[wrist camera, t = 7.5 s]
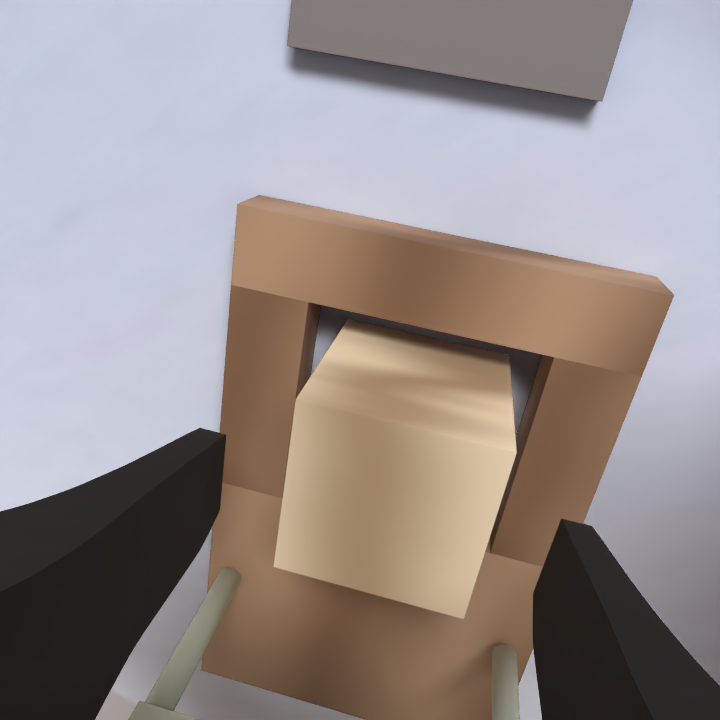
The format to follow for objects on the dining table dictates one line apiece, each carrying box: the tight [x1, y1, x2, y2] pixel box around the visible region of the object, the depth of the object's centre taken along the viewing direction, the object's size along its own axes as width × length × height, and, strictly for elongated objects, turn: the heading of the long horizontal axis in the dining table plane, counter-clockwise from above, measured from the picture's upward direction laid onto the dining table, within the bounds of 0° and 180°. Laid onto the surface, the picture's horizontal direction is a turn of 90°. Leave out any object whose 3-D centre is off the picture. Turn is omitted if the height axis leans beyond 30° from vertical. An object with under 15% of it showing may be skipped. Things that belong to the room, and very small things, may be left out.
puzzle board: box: [201, 195, 674, 720], centre depth 18 cm, size 10×16×2 cm, turn 171°
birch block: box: [274, 319, 517, 619], centre depth 15 cm, size 4×4×5 cm
